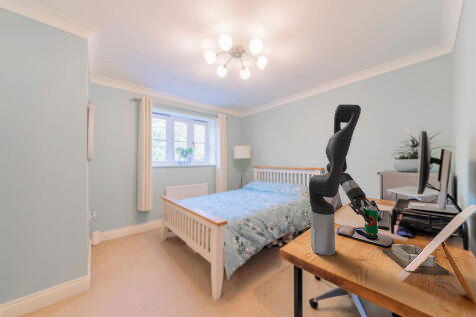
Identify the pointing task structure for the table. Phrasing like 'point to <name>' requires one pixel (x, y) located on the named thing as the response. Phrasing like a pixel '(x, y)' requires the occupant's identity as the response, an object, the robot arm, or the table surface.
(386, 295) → the table surface
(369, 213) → the soda can
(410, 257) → the holder
